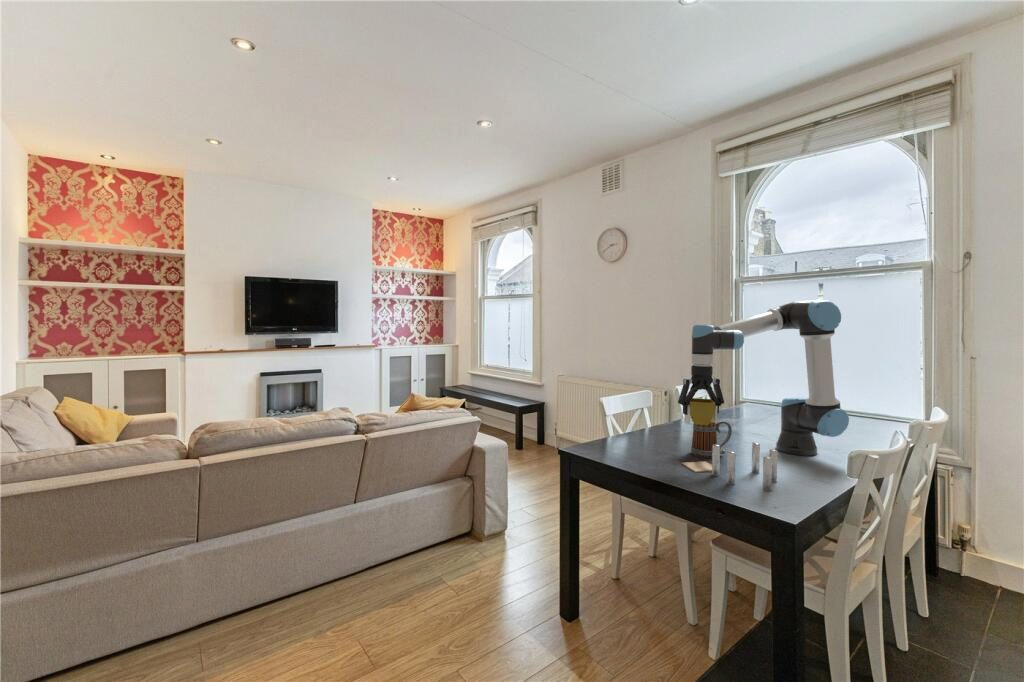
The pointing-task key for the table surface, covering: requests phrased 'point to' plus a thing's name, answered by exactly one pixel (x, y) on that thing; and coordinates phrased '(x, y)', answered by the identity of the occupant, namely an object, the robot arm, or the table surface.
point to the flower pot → (701, 410)
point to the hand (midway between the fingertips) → (700, 422)
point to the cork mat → (698, 466)
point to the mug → (707, 439)
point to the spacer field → (768, 465)
